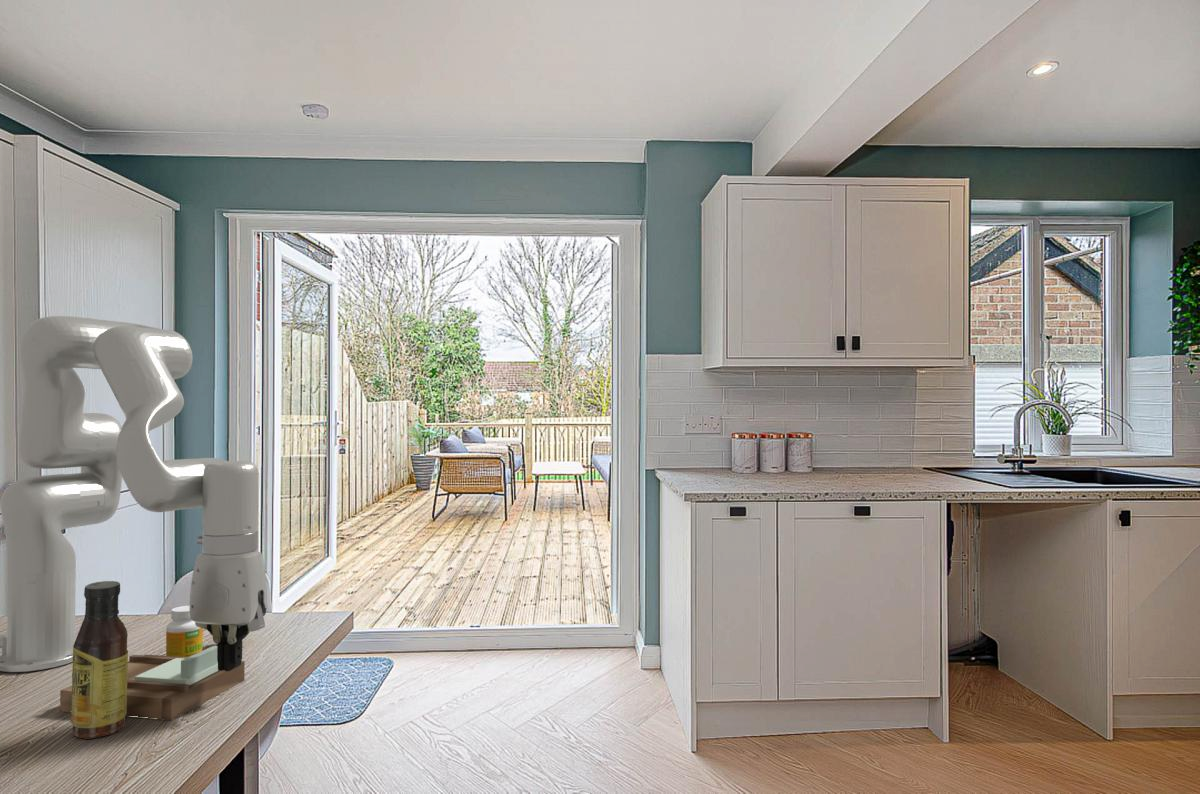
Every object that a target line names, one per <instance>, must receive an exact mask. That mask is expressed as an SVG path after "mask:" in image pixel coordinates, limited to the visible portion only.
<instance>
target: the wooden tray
mask: <svg viewBox="0 0 1200 794" xmlns="http://www.w3.org/2000/svg"><path fill="white" fill-rule="evenodd" d="M128 658H129V659H128V671H127V708H126V716H138V717H148V718H157V719H164V720H163V721H169V720H172V721H174V720H175V719H177V718H179V717H180V715H181V716H182V714H183V715H185V714H186V713H189V712H190V711H192V710H193V709H195V708H198V707H199V706H201V705H202V704H204V703H206V702H208V701H209V700H211V699H213V698H215V697H216V696H218V695H220V694H222V693H224V692H225V691H228V690H229V689H231V688H232V687H235V686H236V685H238V684H240V683H242V682H244V681H245V660H242V661H241V665H240V666H238V667H236V668H234V669H232V670H231V671H225V670H223V671H217V672H215V673H213V674H211V675H209V676H207V677H205V678H203V679H201V680H199V681H197V682H195V683H193V684H191V685H189V684H175V683H162V682H148V681H135V676H137V675H140V674H142V673H144V672H146V671H148V670H151V669H153V668H155V667H157V666H160V665H162V664H164V663H166V662H168V661H171V660H173V659H175V658H185V659H186V658H188V657H175V656H166V655H157V654H144V655H143V654H141V655H140V654H131V655H128ZM59 692H60V694H59V696H60V698H59V701H60V704H59V712H62V711H72V685H70V686H67V687H65V688H63V689H60V691H59ZM178 716H179V717H178ZM176 717H177V718H176ZM157 719H156V720H157ZM173 719H174V720H173Z"/></svg>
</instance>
